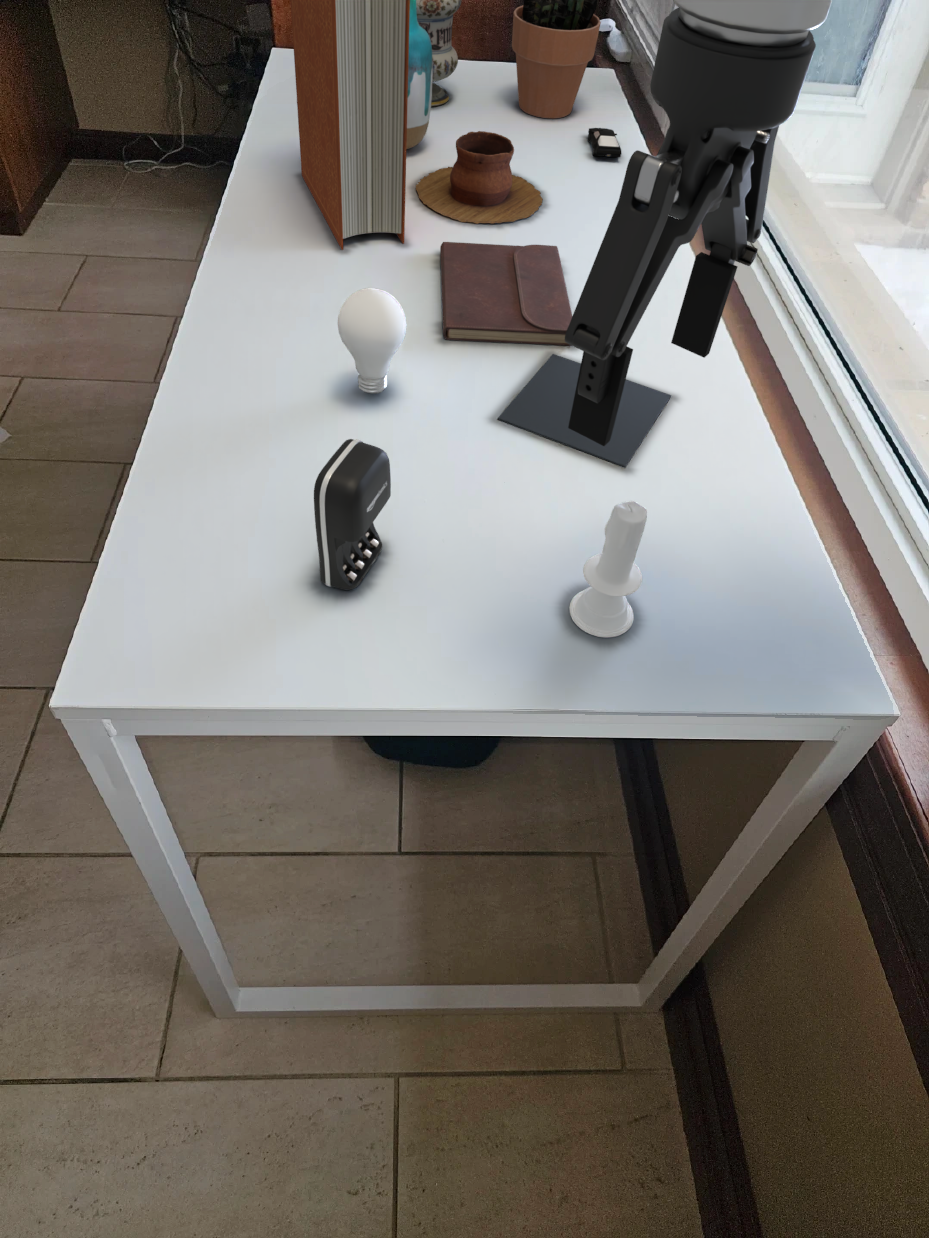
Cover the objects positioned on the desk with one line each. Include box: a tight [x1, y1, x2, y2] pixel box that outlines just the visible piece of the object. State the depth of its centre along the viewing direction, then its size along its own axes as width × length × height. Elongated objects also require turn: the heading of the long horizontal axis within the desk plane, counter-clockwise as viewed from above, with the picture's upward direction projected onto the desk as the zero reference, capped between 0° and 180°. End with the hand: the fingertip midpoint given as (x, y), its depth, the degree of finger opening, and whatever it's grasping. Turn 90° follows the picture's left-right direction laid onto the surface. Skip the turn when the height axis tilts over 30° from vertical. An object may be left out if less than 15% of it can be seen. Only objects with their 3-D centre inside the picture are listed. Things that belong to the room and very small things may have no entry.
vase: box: [406, 0, 433, 150], centre depth 123 cm, size 11×11×19 cm
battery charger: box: [313, 438, 392, 591], centre depth 69 cm, size 7×4×11 cm, turn 158°
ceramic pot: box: [415, 130, 543, 225], centre depth 119 cm, size 18×18×7 cm
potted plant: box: [511, 0, 602, 120], centre depth 135 cm, size 14×14×25 cm
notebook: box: [439, 241, 573, 347], centre depth 103 cm, size 15×20×2 cm
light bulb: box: [337, 287, 408, 395], centre depth 85 cm, size 7×7×11 cm
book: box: [290, 0, 410, 251], centre depth 105 cm, size 23×8×30 cm, turn 20°
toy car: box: [587, 127, 622, 158], centre depth 134 cm, size 10×4×3 cm, turn 3°
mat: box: [497, 353, 672, 468], centre depth 91 cm, size 14×14×1 cm
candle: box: [569, 500, 648, 638], centre depth 67 cm, size 5×5×12 cm
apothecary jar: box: [416, 0, 463, 107], centre depth 137 cm, size 12×12×18 cm
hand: (642, 389), depth 58 cm, fingers open, 13 cm apart
